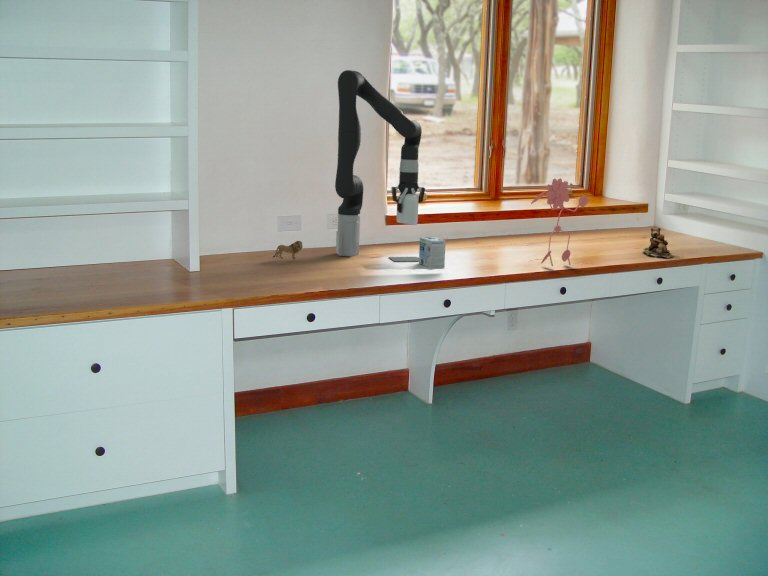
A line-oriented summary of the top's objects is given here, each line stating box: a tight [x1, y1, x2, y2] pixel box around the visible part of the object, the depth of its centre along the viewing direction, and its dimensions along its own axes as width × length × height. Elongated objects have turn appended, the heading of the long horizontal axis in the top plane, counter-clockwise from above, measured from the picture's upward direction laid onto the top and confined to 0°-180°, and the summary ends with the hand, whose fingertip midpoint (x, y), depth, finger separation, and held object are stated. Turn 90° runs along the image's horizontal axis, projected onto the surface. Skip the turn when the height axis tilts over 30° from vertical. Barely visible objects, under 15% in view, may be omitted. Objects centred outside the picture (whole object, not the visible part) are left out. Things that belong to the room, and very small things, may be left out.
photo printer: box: [396, 194, 419, 226], centre depth 364 cm, size 10×4×12 cm, turn 39°
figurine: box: [528, 177, 589, 267], centre depth 369 cm, size 15×26×35 cm, turn 118°
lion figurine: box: [272, 240, 303, 260], centre depth 362 cm, size 12×4×7 cm, turn 94°
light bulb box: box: [418, 236, 447, 269], centre depth 357 cm, size 11×7×11 cm, turn 23°
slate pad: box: [388, 256, 419, 263], centre depth 368 cm, size 12×10×1 cm
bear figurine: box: [642, 227, 675, 259], centre depth 403 cm, size 14×15×12 cm
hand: (407, 212), depth 365 cm, fingers closed on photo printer, 5 cm apart
